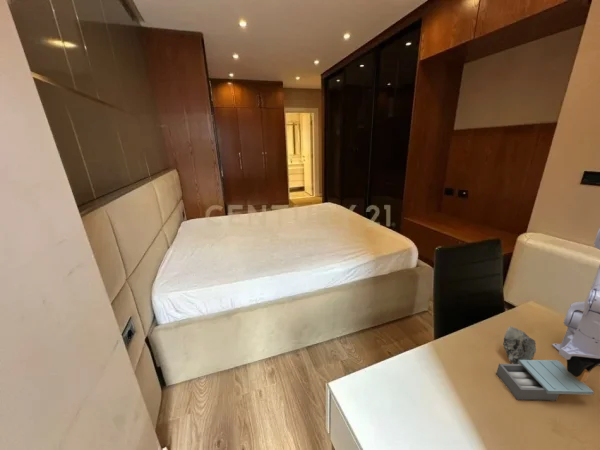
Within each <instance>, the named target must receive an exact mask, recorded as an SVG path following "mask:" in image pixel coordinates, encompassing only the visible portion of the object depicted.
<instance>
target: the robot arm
mask: <svg viewBox="0 0 600 450" xmlns="http://www.w3.org/2000/svg"><path fill="white" fill-rule="evenodd" d="M593 244H594V246H593V247H594V248H596V249H598V250H600V226H599V227H598V230H597V233H596V236H595V240H594V242H593ZM563 324H564V326H565V327H567V328H566V331H565V333H564V336H563V339H562V341H561V343H552V344H551V345H552V346H553V347H554V349H556V350H557V351H558V354H559V355H560V356H561V357H563V358H564V359H566V367H567V371H568V372H570V373H571V374H572V375H574V376H575V377H578V376H580V375H581V374H582V372H583V371H584V370H585V369H586V370H587V371H589V372H591V371H592V370H593V369H594V368H596V367H597V366H600V264H599V266H598V268H597V271H596V274H595V277H594V279H593V282H592V285H591V286H590V289H589V291H588V293H587V296H586V298H585V300H583V301H577V302H576V301H575V302H572V303H571V304H570V305H569V308H568V309H567V312H566V314H565V317H564V321H563Z"/></svg>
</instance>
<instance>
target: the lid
mask: <svg viewBox="0 0 600 450" xmlns="http://www.w3.org/2000/svg"><path fill="white" fill-rule="evenodd" d="M518 363H519V364H522V366H523V367H524V368H525V369H526V370H527V371H528V372H529V373H530V374H531V375H532V376H533V377H534V378H535V379H536V380H537V381H538V382H539V384H540V385H541V386H542V387H543V388H544V389H545V390H546V393H547V394H559V395H585V396H586V395H594V392H595V391H594V390H592V388H590V387H589V386H588V385H587V384H586V383H585V382H586V381H587V379H588V376H589V375H590V372H591V371H590V372H589V371H587V370H586V369H585V370H584V371H583V372H582V374H581V375H580V376H578V377H575V376H574V375H572V374H571V373H570V372H568V371H567V366H565V365H564V364H563V363H562V362H561V361H559V359H558V360H557V359H555V360H554V359H531V360H519V361H518Z"/></svg>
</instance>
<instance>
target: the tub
mask: <svg viewBox="0 0 600 450" xmlns="http://www.w3.org/2000/svg"><path fill="white" fill-rule="evenodd" d="M495 374H496V376H497V377H498V378H499V380H501V382H502V383H503V385H504V386H505V387H506V388H507V390H508V391H509V393H511V394H512V396H513V397H514V398H515V399H516V401H524V402H525V401H529V402H532V401H534V402H557V399H558V398H559V396H560V394H547V393H546V390H545V389H544V388H543V387H542V386H541V385H540V384H539V382H538V381H537V380H536V379H535V378H534V377H533V376H532V375H531V374H530V373H529V372H528V371H527V370H526V369H525V368H524V367H523V366H522V364H513V363H498V367H497V370H496V373H495Z"/></svg>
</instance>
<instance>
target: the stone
mask: <svg viewBox="0 0 600 450" xmlns="http://www.w3.org/2000/svg"><path fill="white" fill-rule="evenodd" d="M502 345H503V348H504V351H505V353H506V355H507V358H508V360H509V361H510V364H519V363H518V361H519V360H533V358H534V357H535V354H536V351H537V349H536V345H537V344H536V340H535V339H533V338H532V337H530V336H529V335H528V334H526V333H525V332H524V331H523V330H521V329H518V328H516V327H514V326H511V325H510V326H508V328H507V329H506V331H505V334H504V338H503V342H502Z"/></svg>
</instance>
